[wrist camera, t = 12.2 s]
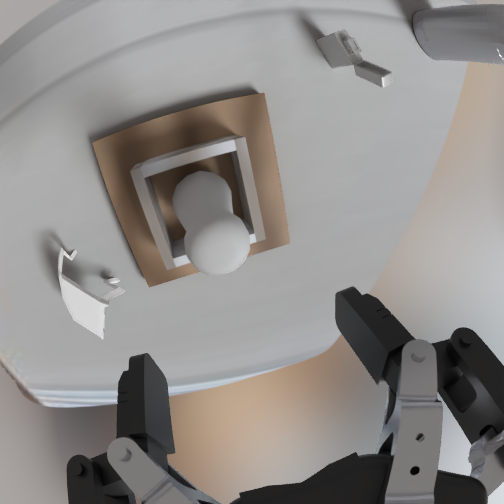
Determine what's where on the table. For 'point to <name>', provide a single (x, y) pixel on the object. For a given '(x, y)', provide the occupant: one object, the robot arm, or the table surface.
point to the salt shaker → (210, 224)
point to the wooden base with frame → (185, 163)
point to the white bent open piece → (85, 299)
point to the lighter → (352, 57)
